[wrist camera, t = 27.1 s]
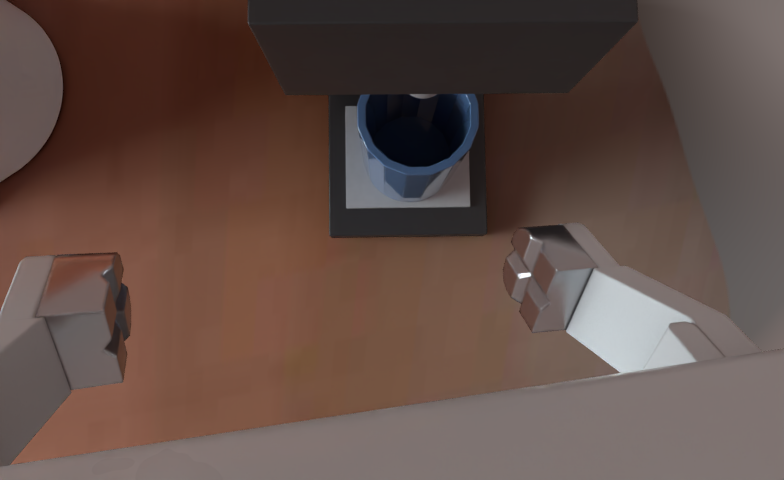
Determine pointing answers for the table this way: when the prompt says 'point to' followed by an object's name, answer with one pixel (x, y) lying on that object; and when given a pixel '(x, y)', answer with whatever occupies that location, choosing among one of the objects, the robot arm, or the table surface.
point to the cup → (415, 141)
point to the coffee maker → (426, 82)
